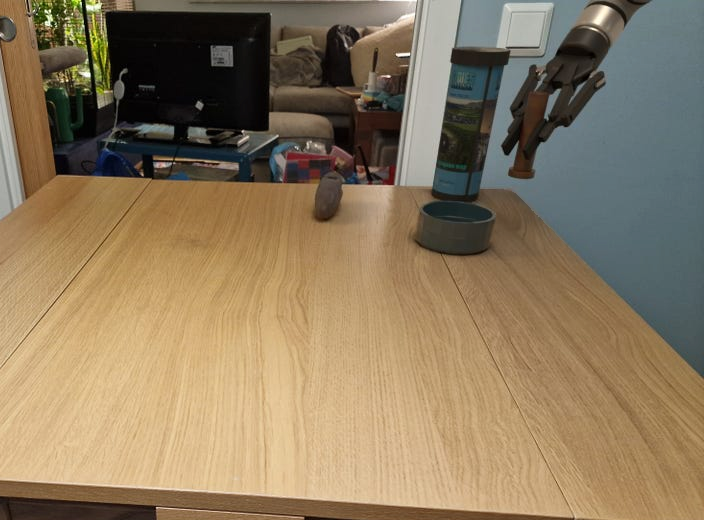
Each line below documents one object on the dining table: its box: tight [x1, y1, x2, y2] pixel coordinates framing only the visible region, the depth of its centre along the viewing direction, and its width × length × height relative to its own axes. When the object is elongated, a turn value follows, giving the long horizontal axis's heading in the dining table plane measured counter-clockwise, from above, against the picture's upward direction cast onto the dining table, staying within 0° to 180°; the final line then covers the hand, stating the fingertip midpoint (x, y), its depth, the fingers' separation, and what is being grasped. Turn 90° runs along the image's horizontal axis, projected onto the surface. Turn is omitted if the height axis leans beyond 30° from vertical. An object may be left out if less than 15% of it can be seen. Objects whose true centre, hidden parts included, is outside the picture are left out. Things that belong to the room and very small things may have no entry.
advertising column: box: [431, 46, 512, 203], centre depth 141 cm, size 11×11×30 cm
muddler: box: [507, 90, 551, 180], centre depth 115 cm, size 4×4×14 cm
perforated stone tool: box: [314, 171, 344, 219], centre depth 136 cm, size 15×5×7 cm, turn 162°
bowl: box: [414, 200, 497, 256], centre depth 121 cm, size 13×13×6 cm
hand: (515, 152), depth 114 cm, fingers closed on muddler, 3 cm apart
